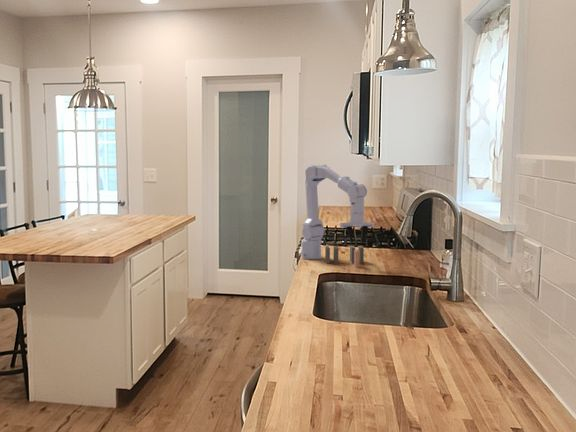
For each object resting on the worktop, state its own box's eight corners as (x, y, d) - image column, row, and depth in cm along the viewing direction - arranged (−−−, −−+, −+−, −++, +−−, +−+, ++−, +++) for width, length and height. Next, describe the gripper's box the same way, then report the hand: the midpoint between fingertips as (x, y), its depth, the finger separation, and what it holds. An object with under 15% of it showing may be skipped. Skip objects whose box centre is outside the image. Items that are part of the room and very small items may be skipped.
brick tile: (356, 267, 214) (356, 251, 213) (354, 265, 219) (354, 249, 218) (359, 267, 214) (359, 251, 213) (357, 265, 219) (357, 249, 218)
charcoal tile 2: (351, 263, 223) (351, 247, 222) (350, 261, 228) (350, 245, 227) (355, 263, 223) (355, 247, 222) (353, 260, 228) (353, 245, 227)
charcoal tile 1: (360, 263, 223) (360, 247, 222) (358, 260, 228) (358, 245, 227) (363, 263, 223) (363, 247, 223) (361, 260, 228) (361, 245, 227)
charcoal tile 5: (326, 263, 223) (326, 248, 222) (325, 261, 228) (325, 246, 227) (329, 263, 223) (329, 248, 222) (328, 261, 228) (328, 246, 227)
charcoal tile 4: (334, 263, 223) (335, 248, 222) (333, 261, 228) (333, 246, 227) (338, 263, 223) (338, 248, 222) (336, 261, 228) (336, 246, 227)
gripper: (341, 214, 210) (341, 245, 211) (375, 213, 210) (375, 245, 212) (339, 212, 217) (339, 242, 218) (372, 211, 217) (372, 242, 219)
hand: (356, 243), depth 215 cm, fingers open, 4 cm apart
